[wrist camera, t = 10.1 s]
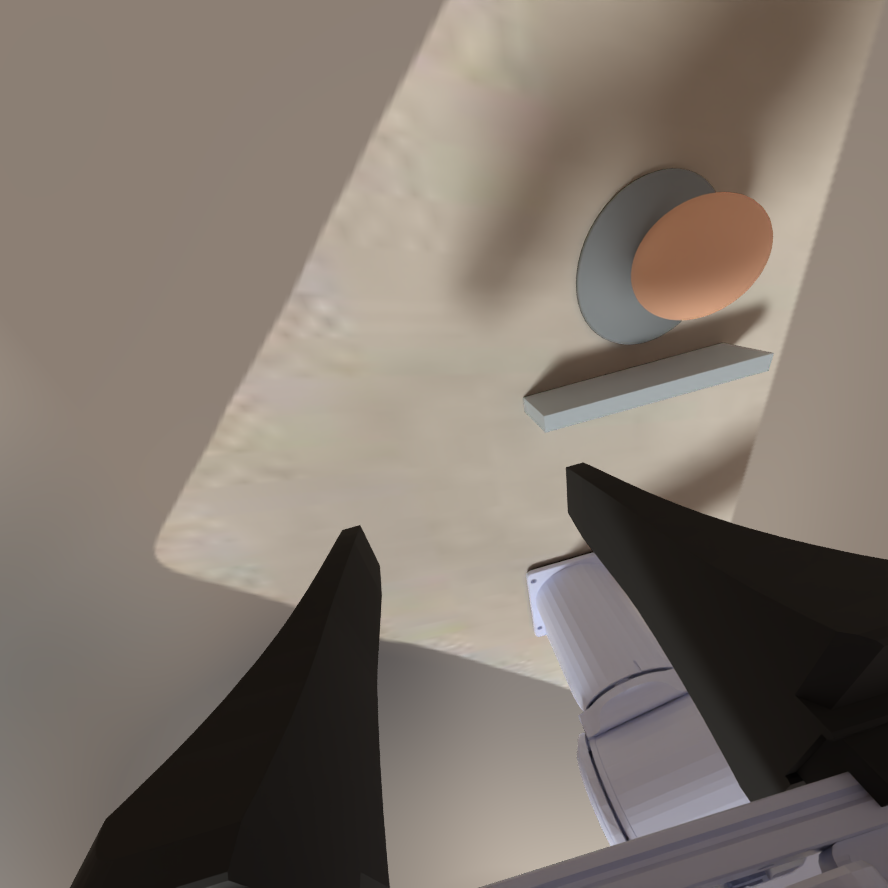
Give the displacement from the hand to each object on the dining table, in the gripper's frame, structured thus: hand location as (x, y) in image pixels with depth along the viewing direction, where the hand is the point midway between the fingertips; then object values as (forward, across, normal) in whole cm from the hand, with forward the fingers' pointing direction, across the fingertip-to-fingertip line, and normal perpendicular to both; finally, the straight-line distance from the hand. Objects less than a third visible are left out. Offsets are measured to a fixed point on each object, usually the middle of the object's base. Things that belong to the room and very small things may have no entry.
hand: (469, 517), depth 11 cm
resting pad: (+9, -13, -5) cm, 17 cm away
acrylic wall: (+9, -12, +1) cm, 15 cm away
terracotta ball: (+9, -13, -5) cm, 17 cm away
